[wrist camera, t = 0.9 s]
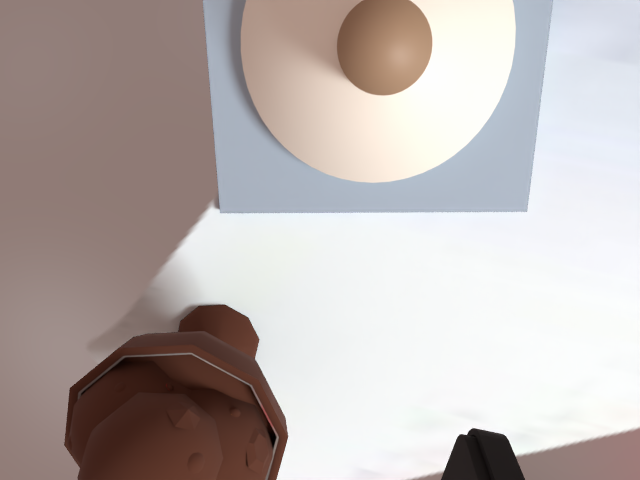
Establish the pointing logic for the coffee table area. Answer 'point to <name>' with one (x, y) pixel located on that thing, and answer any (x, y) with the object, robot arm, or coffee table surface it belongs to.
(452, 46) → the lid
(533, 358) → the coffee table surface
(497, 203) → the mat
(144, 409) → the ice cream bowl
